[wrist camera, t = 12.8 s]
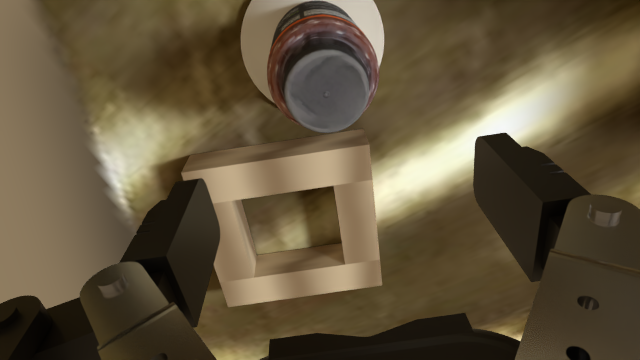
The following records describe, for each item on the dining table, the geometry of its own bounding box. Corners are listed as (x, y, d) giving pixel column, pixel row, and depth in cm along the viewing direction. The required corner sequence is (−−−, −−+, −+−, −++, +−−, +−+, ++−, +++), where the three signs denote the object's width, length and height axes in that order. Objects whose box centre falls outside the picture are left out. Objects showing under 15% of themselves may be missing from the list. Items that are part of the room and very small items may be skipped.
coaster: (377, -47, 27) (378, -47, 26) (386, 100, 32) (388, 103, 31) (225, -22, 27) (224, -21, 27) (258, 120, 32) (257, 123, 32)
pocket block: (363, 128, 33) (369, 144, 30) (376, 262, 40) (382, 285, 37) (190, 155, 33) (181, 172, 31) (232, 283, 40) (228, 307, 38)
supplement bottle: (335, 99, 31) (353, 171, 21) (260, 65, 29) (241, 126, 20) (374, 22, 28) (414, 63, 19) (294, -19, 27) (292, 2, 17)
